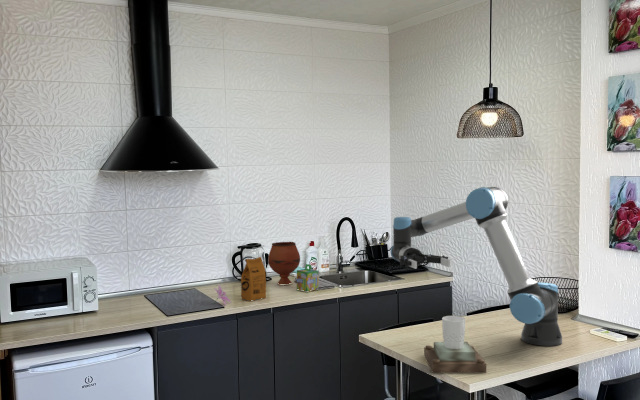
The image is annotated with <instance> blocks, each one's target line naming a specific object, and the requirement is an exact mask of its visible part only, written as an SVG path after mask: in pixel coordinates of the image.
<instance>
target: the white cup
mask: <svg viewBox="0 0 640 400" xmlns="http://www.w3.org/2000/svg"><path fill="white" fill-rule="evenodd" d="M441 321H442V323H441V324H442V326H441V327H442V339H443V342H444V347H445V348H448V349H462V348H463V347H464V342H465V333H466V331H465V329H466V318H465V317H462V316H458V315H446V316H445V315H444V316H443V317H442V318H441Z"/></svg>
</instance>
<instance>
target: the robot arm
mask: <svg viewBox="0 0 640 400" xmlns="http://www.w3.org/2000/svg"><path fill="white" fill-rule="evenodd" d="M508 205H509V197H508V195H507V193H506V192H505V191H504V190H503V189H502V188H500V187H498V186H488V187H485V186H484V187H483V186H481V187H478V188H475V189H473V190H471V192H470V193H469V194H467V197H466V200H465V202H462V203H459V204H456V205H452V206H450V207H448V208H444V209H442V210H441V209H440V210H439V211H435V212H433V213H430V214H427V215H424V216H420V217H417V218H415V219H412V218H411V217H409V216H395V217H394V219H393V225H392V227H393V228H392V229H393V230H392V231H393V245H391V248H390V256H391V257H392V259H394V261H396V262H398V263H399V266H400V267H402V266H404V268H406V269H407V268H412V269H415V270H416V269H418V266H420V265H421V264H440V265H441V266H444V267H447V268H450V267H451V259H449V257H448V256H445V255H442V256H441V255H437V254H436V255H435V254H424V253H422V251H421V250H420V249H418V248H415V247H413V246H412V238H414V237H421V236H424V235H426V234H428V233H432V232H435V231H438V230H441V229H444V228H448V227H450V226H453V225H456V224H460V223H462V222H466V221H468V220H471V219H472V220H473V219H475V221H476V223H477V226H478V227H480V228H482V229H483V231H484V232H485V234H486V236H487V238H488V240H489V241H488V242H490V246H491V248H492V250H493V253H494V255H495V257H496V260H497V262H498V264H499V267H500V269H501V271H502V273H503V276H504V278H505V280H506V283H507V284H508V290H507V295H508V298H509V299H510V302H509V311H510V314H511V316H513V318H514V319H515V320H517V321H518V322H520V323H522V324H524V325H523V328H522V331H521V333H520V334H521V335H520V337H521V338H520V339H521V341H522V342H524V343H527V344H530V345H534V346H540V347H541V346H542V347H544V346H545V347H549V346H550V347H553V346H560V345H561V344H563V336H562V332H561V328H560V326H559V321H558V318H559V317H558V315H559V313H558V311H559V310H558V309H559V305H558V303H559V302H558V301H559V289H558V287H559V286H558V285H556V284H554V283H550V282H548V283H547V282H538V281H536V279H535V280H534V279H532V277H531V275H530V272H529V271H528V268H527V266H526V263H525V261H524V259H523V257H522V254H521V253H520V251H519V247H518V246H517V244H516V241H515V240H514V239H515V238H514V236H513V234H512V232H511V230H510V229H509V228H510V227H509V226H508V224H507V221H506V219H507V216H508V213H507V211H506V210H507V208H508Z"/></svg>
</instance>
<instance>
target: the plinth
mask: <svg viewBox="0 0 640 400" xmlns="http://www.w3.org/2000/svg"><path fill="white" fill-rule="evenodd" d="M423 356H424V358H425V360H427V361H426V362H428V363H427V364H428V367H429V368H430V371H431V373H433V374H435V373H441V374H442V373H444V374H445V373H448V374H449V373H452V374H453V373H455V374H456V373H457V374H458V373H460V374H461V373H462V374H463V373H472V374H473V373H474V374H475V373H482V374H483V373H487V362H486V361H485V359H484V358H483V357H482V355H480V353H479V352H478V351H477V349H475V346H474V345H471V344H470V343H469V342H468V341H464V347H463V348H462V349H448V348H445V347H444V341H433V346H432V345H425V346H424V347H423Z"/></svg>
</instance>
